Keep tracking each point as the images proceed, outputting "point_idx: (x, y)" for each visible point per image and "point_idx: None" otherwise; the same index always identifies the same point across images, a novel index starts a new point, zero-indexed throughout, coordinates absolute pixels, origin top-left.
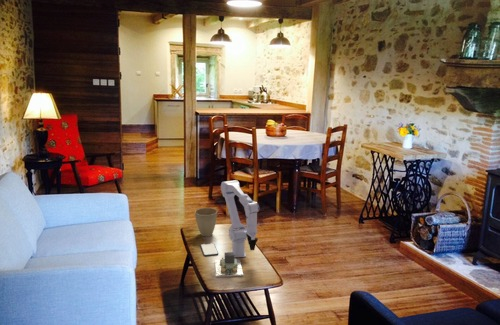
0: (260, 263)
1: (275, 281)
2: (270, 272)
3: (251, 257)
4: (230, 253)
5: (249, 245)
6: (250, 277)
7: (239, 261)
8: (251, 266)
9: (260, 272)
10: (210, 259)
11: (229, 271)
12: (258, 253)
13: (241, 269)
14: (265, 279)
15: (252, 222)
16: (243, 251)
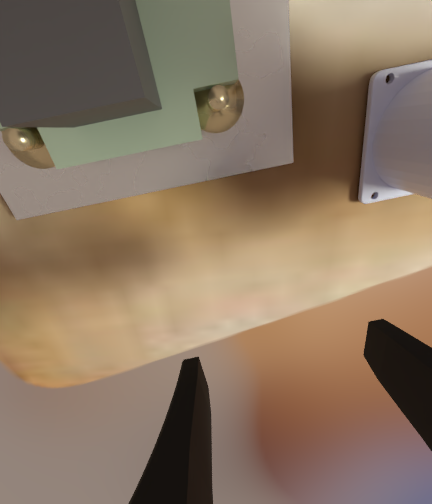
0: (249, 300)
1: (41, 381)
2: (139, 354)
3: (344, 241)
4: (59, 18)
5: (188, 422)
6: (30, 266)
7: (255, 163)
8: (201, 255)
9: (125, 312)
10: None
11: None
12: (396, 276)
13: (100, 198)
14: (43, 342)
15: None
16: (411, 189)
